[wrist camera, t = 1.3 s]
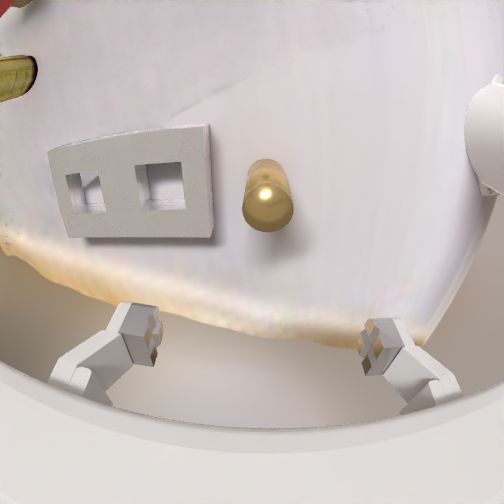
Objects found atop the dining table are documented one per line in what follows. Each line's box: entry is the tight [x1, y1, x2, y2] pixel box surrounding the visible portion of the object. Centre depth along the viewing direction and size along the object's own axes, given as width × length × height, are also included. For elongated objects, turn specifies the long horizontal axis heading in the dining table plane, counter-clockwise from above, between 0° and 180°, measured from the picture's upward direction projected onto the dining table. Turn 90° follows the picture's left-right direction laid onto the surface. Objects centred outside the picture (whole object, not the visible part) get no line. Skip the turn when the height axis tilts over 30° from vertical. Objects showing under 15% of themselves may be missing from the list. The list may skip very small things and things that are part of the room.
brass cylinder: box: [242, 159, 293, 232], centre depth 25 cm, size 4×4×9 cm
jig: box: [48, 123, 215, 238], centre depth 28 cm, size 20×12×3 cm, turn 90°
